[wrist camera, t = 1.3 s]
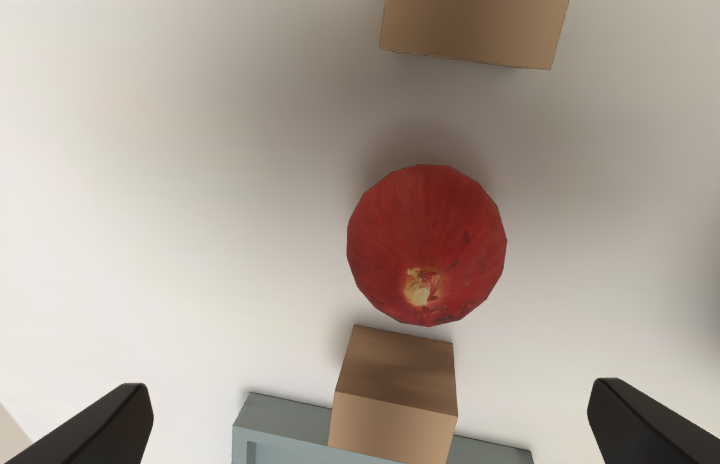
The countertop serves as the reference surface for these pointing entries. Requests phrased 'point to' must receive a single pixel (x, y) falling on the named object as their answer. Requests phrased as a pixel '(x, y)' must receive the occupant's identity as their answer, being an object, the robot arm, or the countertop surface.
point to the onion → (426, 245)
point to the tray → (311, 434)
